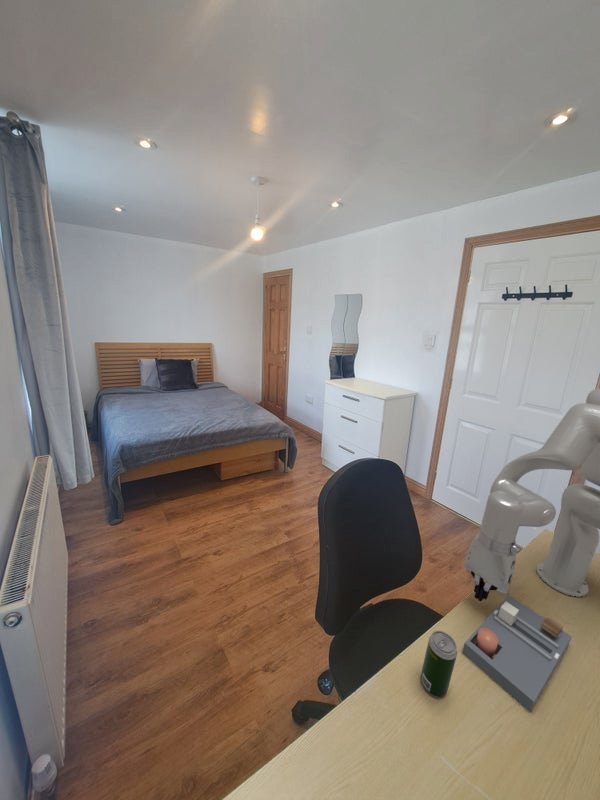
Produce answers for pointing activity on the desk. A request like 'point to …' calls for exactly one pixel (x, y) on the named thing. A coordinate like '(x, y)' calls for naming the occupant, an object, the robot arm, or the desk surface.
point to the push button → (487, 641)
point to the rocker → (552, 626)
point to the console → (519, 653)
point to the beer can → (438, 663)
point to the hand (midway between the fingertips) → (479, 597)
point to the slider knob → (508, 613)
